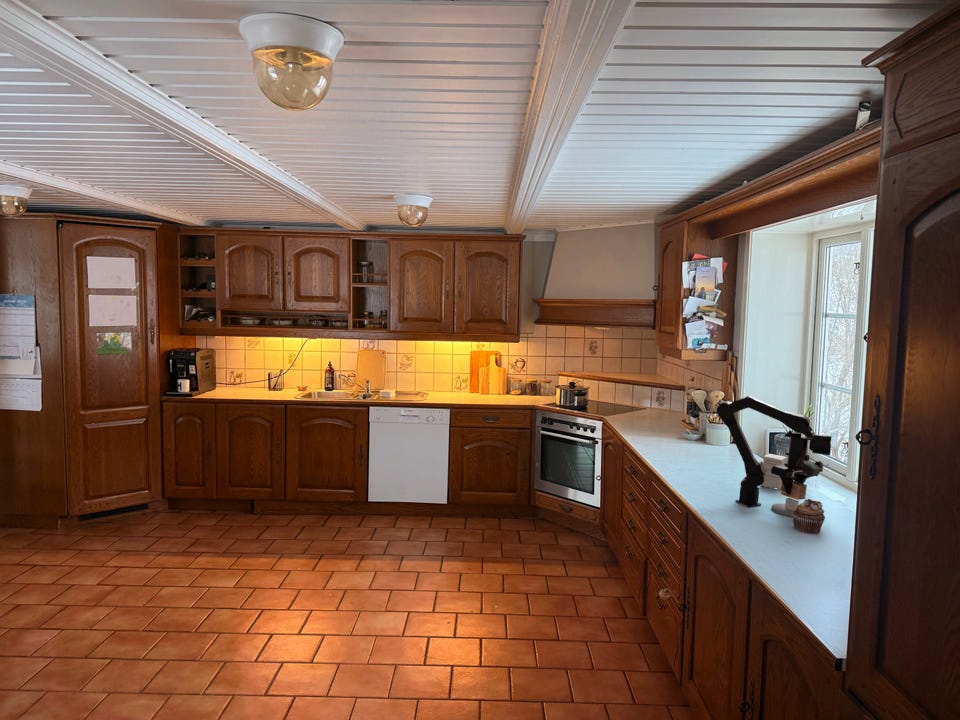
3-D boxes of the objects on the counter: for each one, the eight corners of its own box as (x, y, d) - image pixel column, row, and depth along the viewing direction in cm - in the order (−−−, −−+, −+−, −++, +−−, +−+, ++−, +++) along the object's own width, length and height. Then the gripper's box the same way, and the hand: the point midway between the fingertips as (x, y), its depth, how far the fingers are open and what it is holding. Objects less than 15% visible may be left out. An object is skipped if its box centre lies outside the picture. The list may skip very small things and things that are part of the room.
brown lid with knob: (794, 519, 227) (796, 507, 226) (763, 508, 238) (764, 495, 238) (819, 516, 232) (820, 503, 232) (787, 504, 244) (789, 492, 244)
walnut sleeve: (780, 494, 237) (781, 480, 236) (788, 493, 239) (790, 479, 238) (797, 499, 231) (798, 485, 230) (805, 498, 233) (806, 485, 232)
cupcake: (794, 522, 224) (797, 494, 223) (826, 530, 217) (829, 501, 216) (787, 529, 216) (790, 499, 215) (819, 537, 210) (822, 507, 209)
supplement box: (765, 483, 273) (768, 453, 272) (784, 487, 269) (787, 456, 268) (759, 486, 268) (763, 455, 267) (779, 490, 263) (782, 459, 262)
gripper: (800, 457, 222) (795, 502, 223) (835, 454, 230) (830, 498, 232) (772, 450, 232) (767, 493, 233) (807, 447, 240) (802, 489, 242)
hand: (792, 493), depth 235 cm, fingers closed on walnut sleeve, 4 cm apart
